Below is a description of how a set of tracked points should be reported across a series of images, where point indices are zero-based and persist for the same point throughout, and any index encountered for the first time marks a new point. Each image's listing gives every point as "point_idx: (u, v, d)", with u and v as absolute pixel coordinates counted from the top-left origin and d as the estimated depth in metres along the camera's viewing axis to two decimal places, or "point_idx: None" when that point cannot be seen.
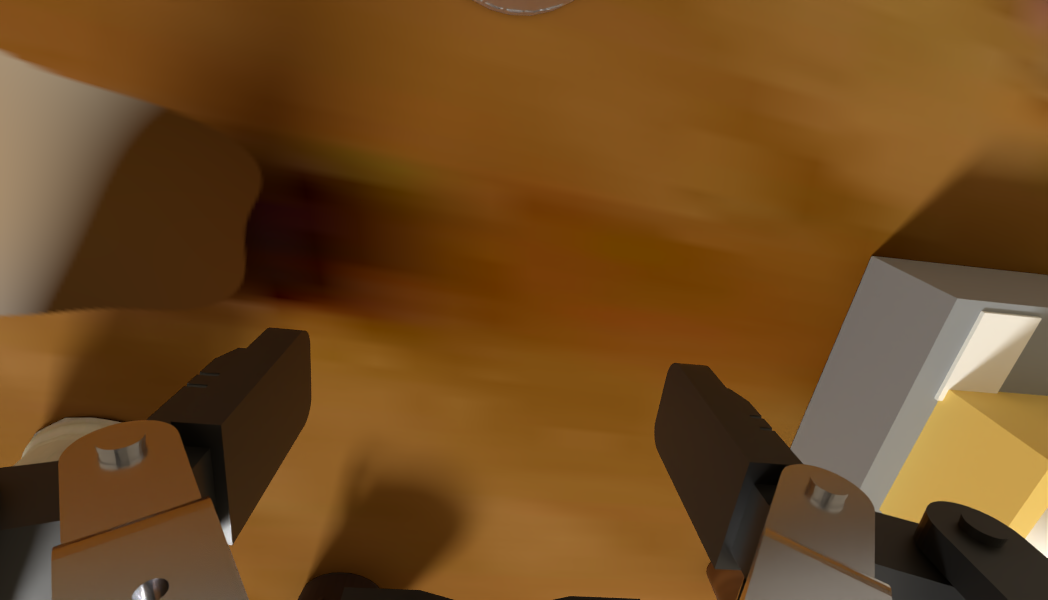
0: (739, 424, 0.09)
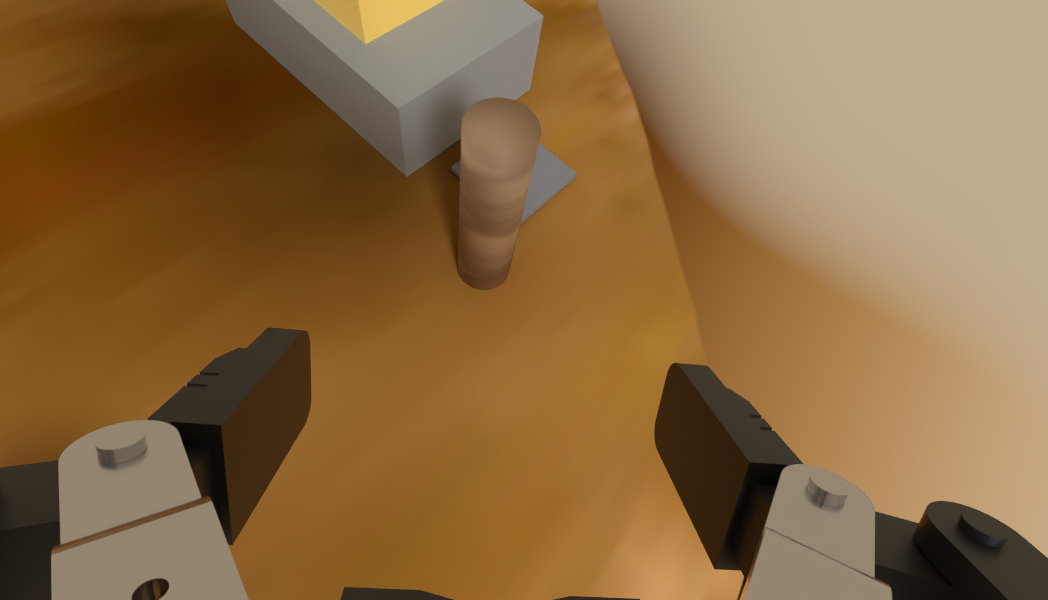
0: (739, 424, 0.09)
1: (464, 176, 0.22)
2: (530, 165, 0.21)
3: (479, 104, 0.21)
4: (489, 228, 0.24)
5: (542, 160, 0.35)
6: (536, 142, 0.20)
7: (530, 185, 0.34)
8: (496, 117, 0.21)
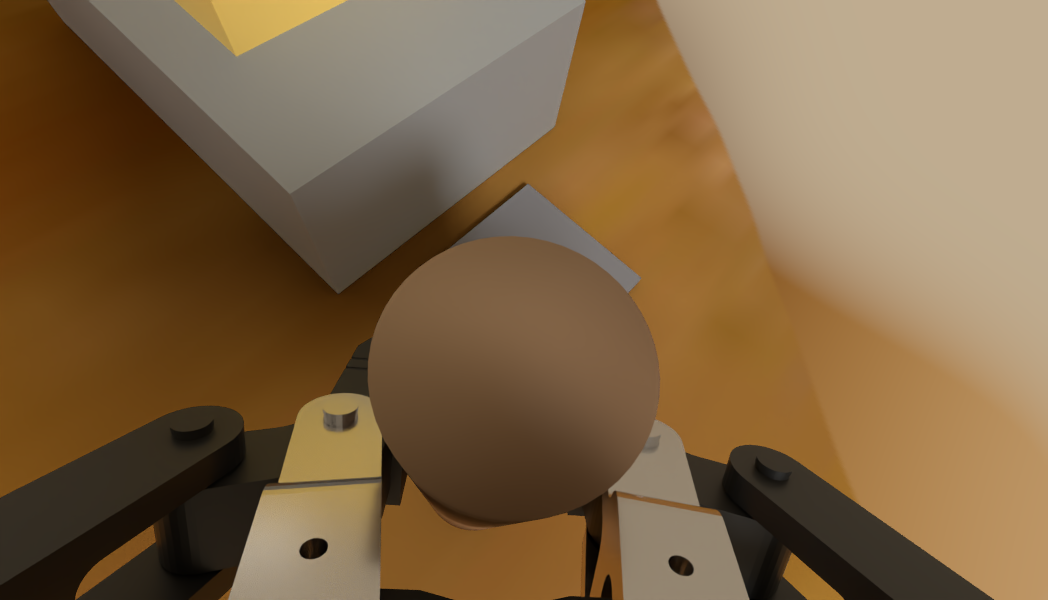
0: None
1: None
2: None
3: (439, 267, 0.06)
4: None
5: None
6: (648, 419, 0.06)
7: None
8: (499, 318, 0.06)
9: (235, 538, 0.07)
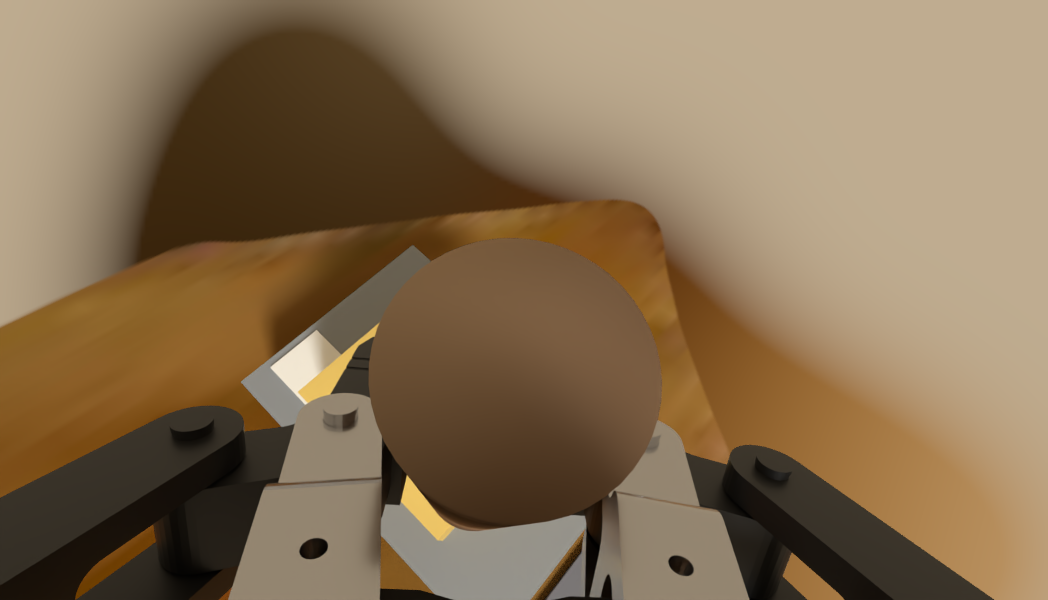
0: None
1: None
2: None
3: (440, 270, 0.06)
4: None
5: None
6: (650, 422, 0.05)
7: None
8: (500, 320, 0.06)
9: (235, 538, 0.07)
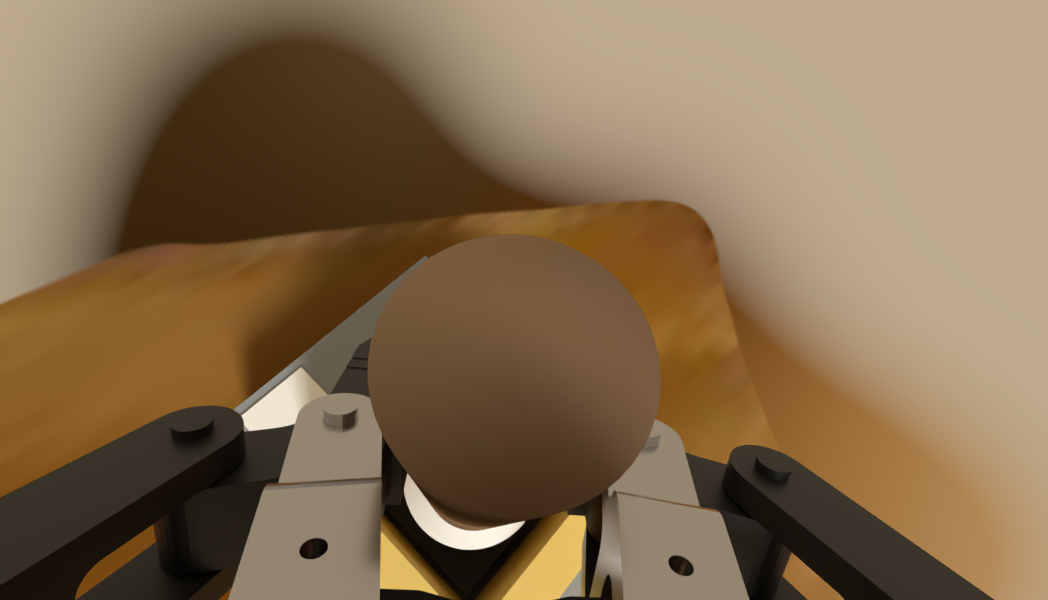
0: None
1: None
2: None
3: (439, 266, 0.06)
4: None
5: None
6: (649, 417, 0.05)
7: None
8: (499, 316, 0.06)
9: (235, 538, 0.07)
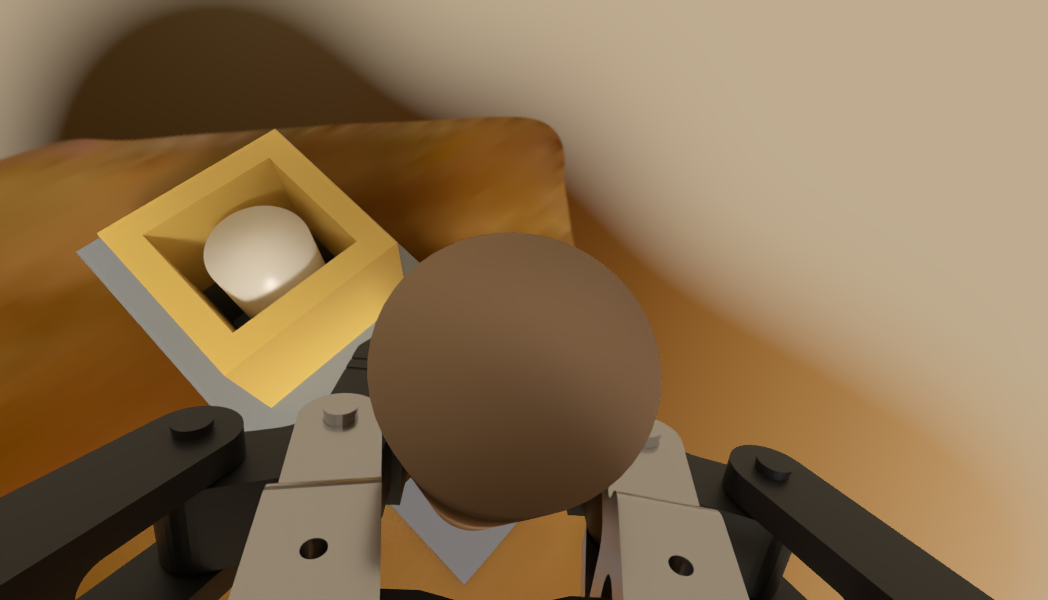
0: None
1: None
2: None
3: (439, 264, 0.06)
4: (481, 526, 0.09)
5: None
6: (650, 416, 0.05)
7: None
8: (499, 314, 0.06)
9: (235, 538, 0.07)
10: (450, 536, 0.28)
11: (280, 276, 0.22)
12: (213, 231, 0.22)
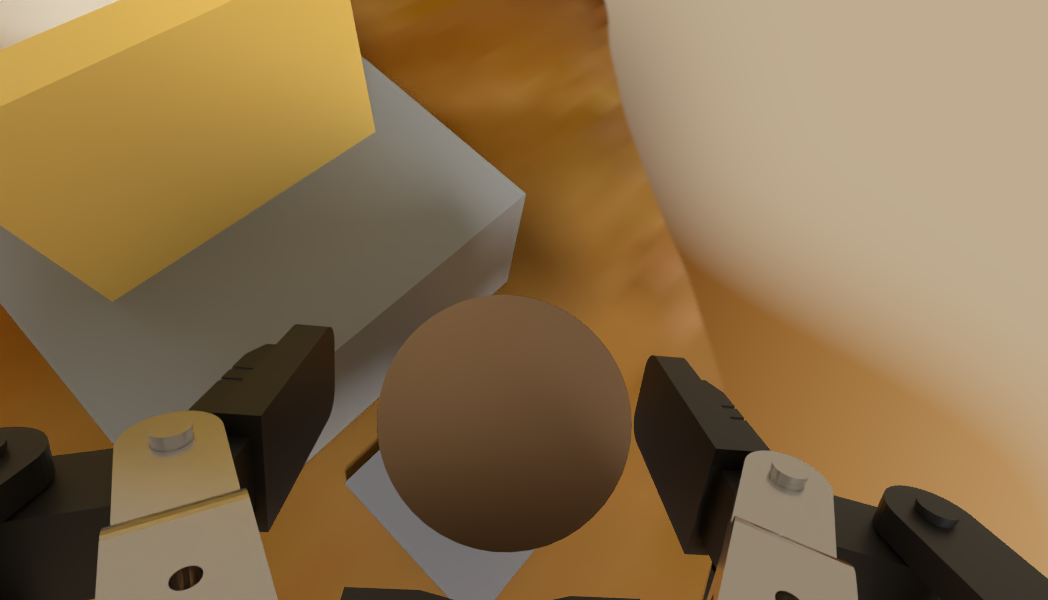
0: (710, 413, 0.09)
1: None
2: None
3: (439, 325, 0.07)
4: None
5: None
6: (620, 461, 0.06)
7: None
8: (491, 371, 0.07)
9: (33, 579, 0.06)
10: (449, 541, 0.17)
11: (97, 7, 0.11)
12: None
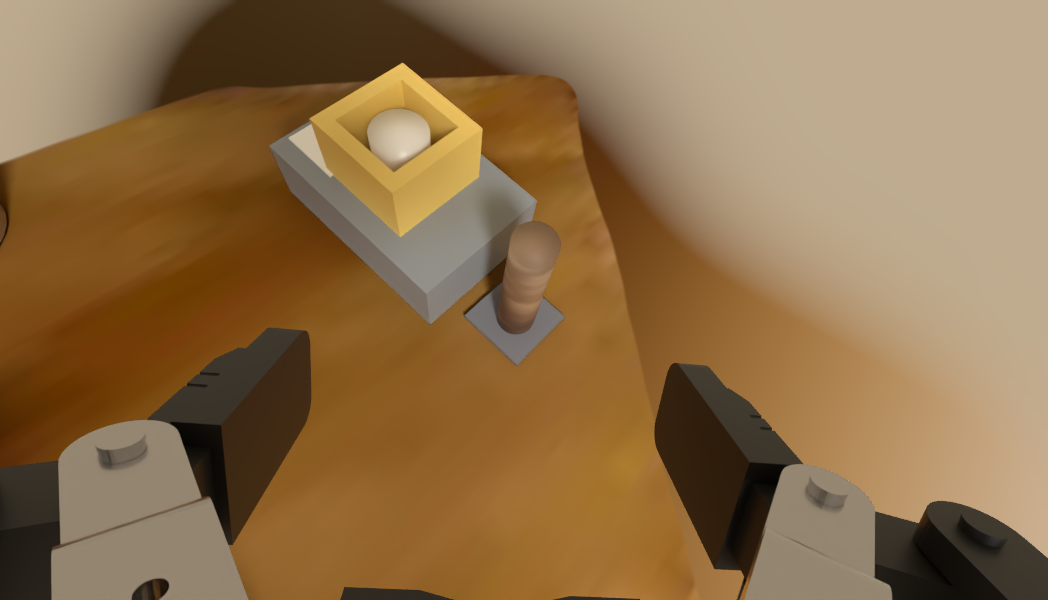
0: (739, 424, 0.09)
1: (510, 269, 0.34)
2: (553, 264, 0.33)
3: (520, 226, 0.33)
4: (524, 299, 0.36)
5: None
6: (558, 252, 0.32)
7: None
8: (532, 235, 0.32)
9: None
10: (506, 336, 0.42)
11: (413, 147, 0.36)
12: (371, 122, 0.37)
